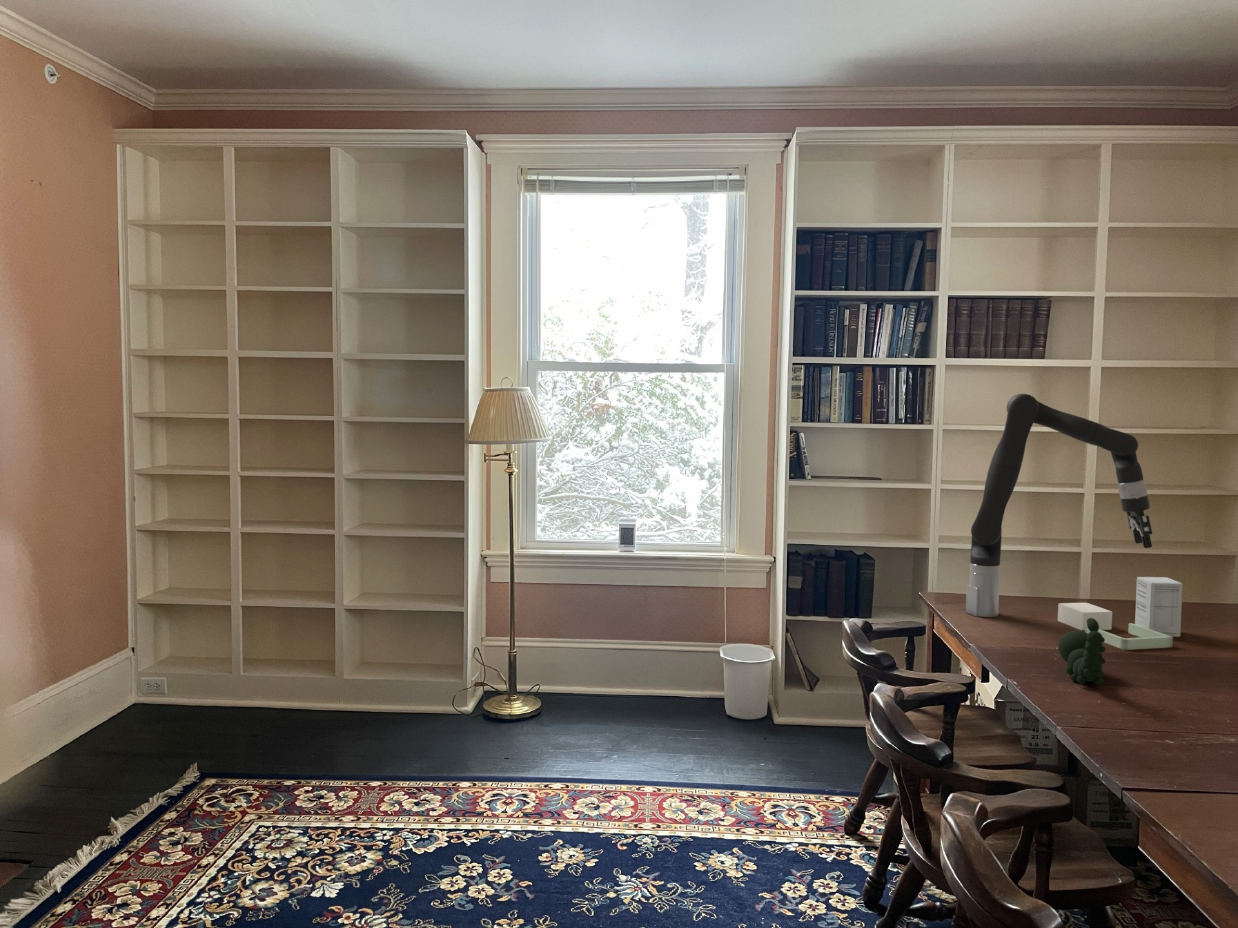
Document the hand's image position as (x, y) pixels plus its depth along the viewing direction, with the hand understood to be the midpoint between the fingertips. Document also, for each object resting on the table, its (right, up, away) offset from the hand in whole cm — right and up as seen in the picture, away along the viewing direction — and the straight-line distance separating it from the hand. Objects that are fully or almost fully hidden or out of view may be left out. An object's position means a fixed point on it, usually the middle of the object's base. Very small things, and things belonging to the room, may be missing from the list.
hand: (1143, 545), depth 270 cm
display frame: (-13, -28, -13) cm, 33 cm away
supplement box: (+2, -27, -4) cm, 27 cm away
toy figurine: (-45, -30, -47) cm, 72 cm away
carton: (-16, -26, +5) cm, 31 cm away
